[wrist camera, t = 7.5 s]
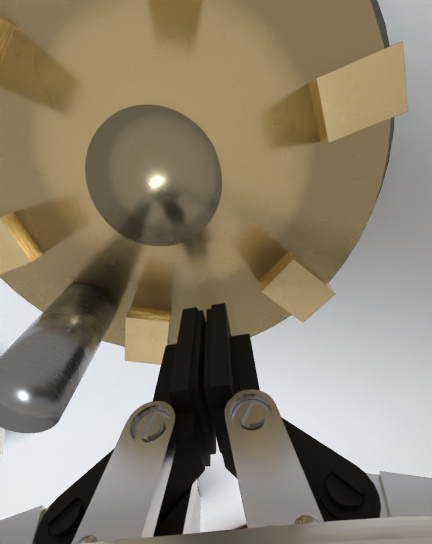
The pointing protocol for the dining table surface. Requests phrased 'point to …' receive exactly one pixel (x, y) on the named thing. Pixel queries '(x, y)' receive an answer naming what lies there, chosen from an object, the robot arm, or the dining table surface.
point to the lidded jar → (2, 440)
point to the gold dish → (179, 171)
